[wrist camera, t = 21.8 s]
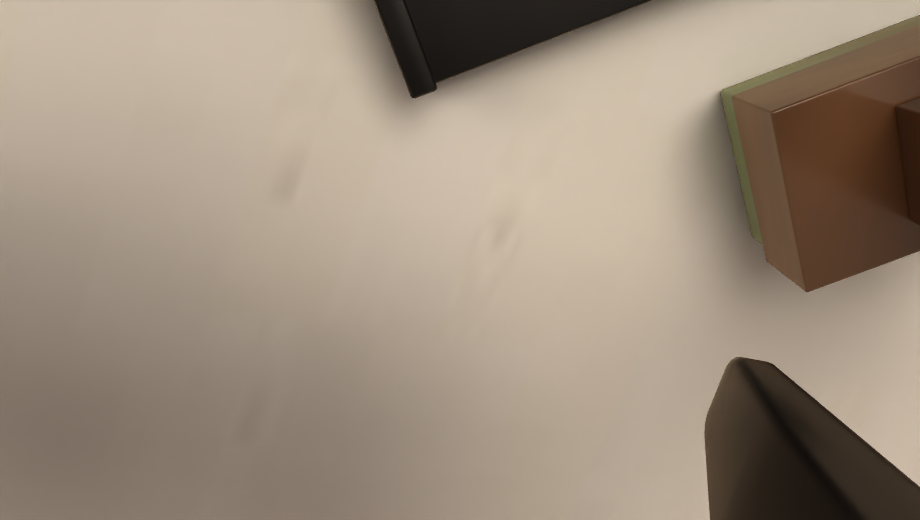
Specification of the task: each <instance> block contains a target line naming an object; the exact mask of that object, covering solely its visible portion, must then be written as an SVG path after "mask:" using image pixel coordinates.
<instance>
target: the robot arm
mask: <svg viewBox="0 0 920 520" xmlns="http://www.w3.org/2000/svg"><path fill="white" fill-rule="evenodd" d="M704 433H705V450H706V465H707V480H708V495H709V510H710V520H920V487H919V486H918V485H917V484H916V483H914V482H913V481H912V480H911V479H910V478H908V477H907V476H906V475H905V474H904V473H902V472H901V471H900V470H899V469H898V468H896V467H895V466H894V465H893V464H892V463H891V462H889V461H888V460H887V459H886V458H885V457H883V456H882V455H881V454H880V453H879V452H877V451H876V450H875V449H874V448H873V447H871V446H870V445H869V444H868V443H867V442H865V441H864V440H863V439H862V438H861V437H859V436H858V435H857V434H856V433H855V432H853V431H852V430H851V429H850V428H849V427H847V426H846V425H845V424H844V423H843V422H841V421H840V420H839V419H838V418H837V417H836V416H834V415H833V414H832V413H831V412H830V411H828V410H827V409H826V408H825V407H824V406H822V405H821V404H820V403H819V402H818V401H816V400H815V399H814V398H813V397H812V396H810V395H809V394H808V393H807V392H806V391H804V390H803V389H802V388H801V387H800V386H798V385H797V384H796V383H795V382H794V381H793V380H791V379H790V378H789V377H788V376H787V375H785V374H784V373H783V372H782V371H781V370H779V369H778V368H777V367H776V366H775V365H773V364H771V363H769V362H765V361H760V360H754V359H749V358H743V357H736V358H734V359H732V360H731V361H730V362H729V364H728V365H727V367H726V369H725V371H724V374H723V376H722V379H721V381H720V384H719V386H718V388H717V391H716V393H715V396H714V398H713V401H712V403H711V406H710V408H709V411H708V413H707V417H706V422H705V432H704Z"/></svg>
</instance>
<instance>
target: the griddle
mask: <svg viewBox="0 0 920 520" xmlns="http://www.w3.org/2000/svg"><path fill="white" fill-rule="evenodd" d="M649 1H651V0H374V2H375V5H376V7H377V10H378V12H379V15H380V18H381V20H382V23H383V25H384V28H385V31H386V33H387V36H388V38H389V41H390V44H391V46H392V49H393V51H394V54H395V57H396V59H397V62H398V65H399V67H400V70H401V72H402V75H403V78H404V80H405V83H406V85H407V88H408V91H409V93H410V96H411V97H412V98H418V97H420V96H423V95H425V94H428V93H431V92H433V91H435V90H436V89H437V85H436V83H438V82H441V81H443V80H446V79H449V78H451V77H454V76H456V75H459V74H462V73H464V72H467V71H469V70H472V69H475V68H477V67H480V66H482V65H485V64H488V63H490V62H493V61H495V60H498V59H501V58H503V57H506V56H508V55H511V54H514V53H516V52H519V51H521V50H524V49H527V48H529V47H532V46H534V45H537V44H540V43H542V42H545V41H547V40H550V39H553V38H555V37H558V36H560V35H563V34H566V33H568V32H571V31H573V30H576V29H579V28H581V27H584V26H586V25H589V24H592V23H594V22H597V21H599V20H602V19H605V18H607V17H610V16H612V15H615V14H618V13H620V12H623V11H625V10H628V9H631V8H633V7H636V6H638V5H641V4H644V3H646V2H649Z"/></svg>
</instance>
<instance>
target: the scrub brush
mask: <svg viewBox="0 0 920 520" xmlns="http://www.w3.org/2000/svg"><path fill="white" fill-rule="evenodd" d="M721 98H722V102H723V107H724V111H725V116H726V120H727V125H728V130H729V134H730V139H731V143H732V148H733V152H734V157H735V161H736V166H737V170H738V175H739V179H740V184H741V188H742V193H743V197H744V202H745V207H746V211H747V216H748V220H749V225H750V229H751V234H752V236H753V238H755V239H756V240H757V241H759V242H760V243H761V244H763V247H764V251H765V256H766V260H767V262H768V263H770V264H771V265H772V266H774V267H775V268H776V269H777V270H779V271H780V272H781V273H782V274H784V275H785V276H786V277H788V278H789V279H790V280H791V281H793V282H794V283H795V284H796V285H798V286H799V287H800V288H802V289H803V290H804V291H805V292H810V291H812V290H815V289H818V288H820V287H823V286H826V285H829V284H831V283H834V282H837V281H839V280H842V279H845V278H848V277H850V276H853V275H856V274H858V273H861V272H864V271H867V270H869V269H872V268H875V267H877V266H880V265H883V264H885V263H888V262H891V261H894V260H896V259H899V258H902V257H904V256H907V255H910V254H913V253H915V252H918V251H920V15H919V16H916V17H914V18H911V19H908V20H906V21H903V22H900V23H898V24H895V25H892V26H890V27H887V28H884V29H882V30H879V31H877V32H874V33H871V34H869V35H866V36H863V37H861V38H858V39H855V40H853V41H850V42H847V43H845V44H842V45H840V46H837V47H834V48H832V49H829V50H826V51H824V52H821V53H818V54H816V55H813V56H810V57H808V58H805V59H802V60H800V61H797V62H795V63H792V64H789V65H787V66H784V67H781V68H779V69H776V70H773V71H771V72H768V73H765V74H763V75H760V76H758V77H755V78H752V79H750V80H747V81H744V82H742V83H739V84H736V85H734V86H731V87H728V88H726V89H723V90H722V91H721Z"/></svg>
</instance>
